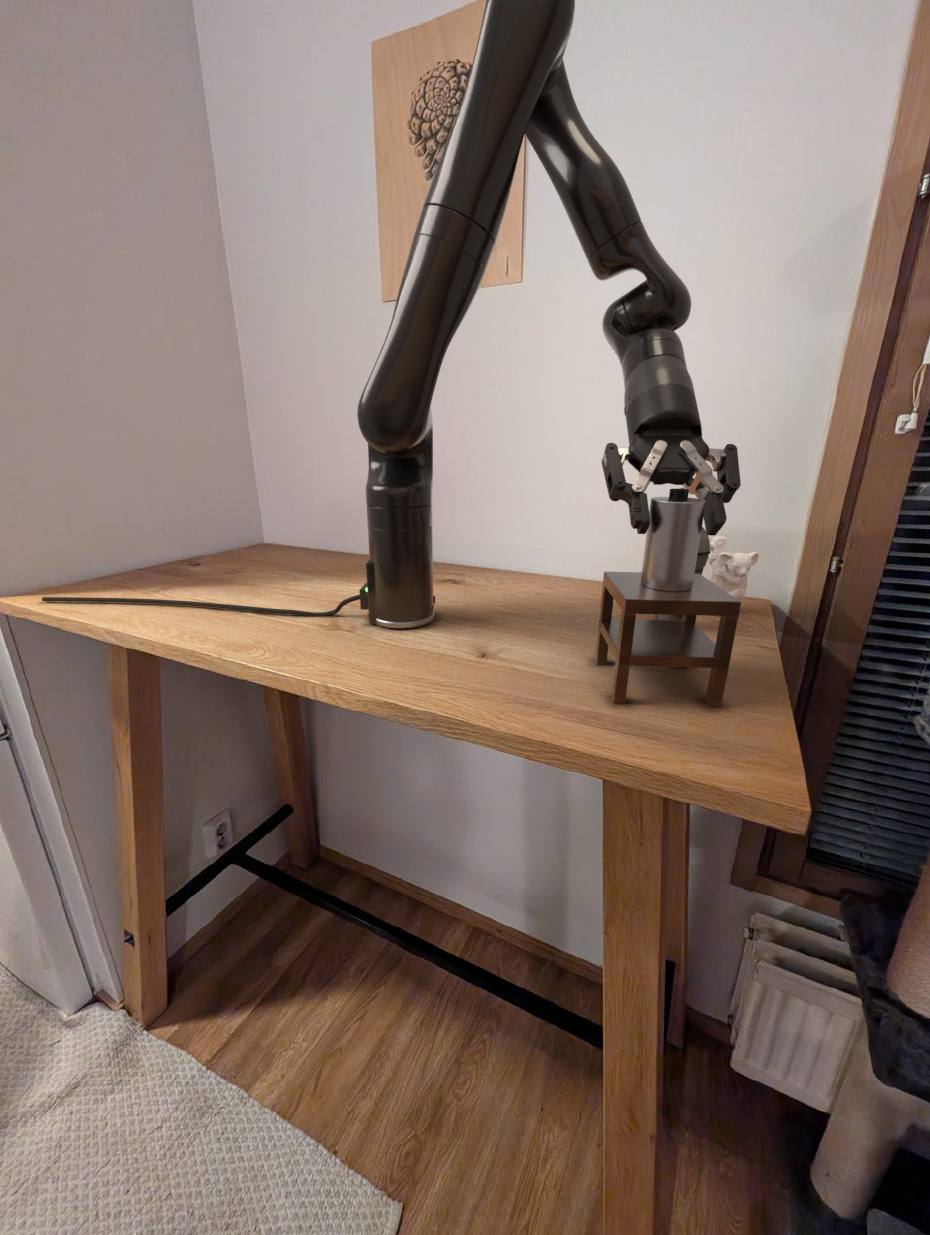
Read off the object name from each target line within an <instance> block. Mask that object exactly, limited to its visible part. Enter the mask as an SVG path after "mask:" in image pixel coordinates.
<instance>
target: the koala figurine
mask: <svg viewBox="0 0 930 1235" xmlns="http://www.w3.org/2000/svg"><path fill="white" fill-rule="evenodd" d="M727 541H728V538H727V537H726V536H723V535H721V534H720V535H719V534H718V535H714V536H713V537H712V540H711V541H710V554H709V556H708V563H709V565H710V567H711V571H710V572H711V573H710V578H709V581H711V582H712V583H714V584H715V585H717V586H718V587H720V588H721V589H723V590H724V591H726V592H727V593H729V594H730V595H731V596H733V597H734V598H736V599H737V600H739V601H741V600H742V599H743V598H744V597H745V595H746V592H747V588H748V579H749V578H748V573H749V571H750V570H751V567H752V566H754V565H756V564H757V563H758V560H759V557H760V554H759V552H758V551H752V552H749V553H745V552H735V553H733V552H732V553H731V552H728V551H727Z"/></svg>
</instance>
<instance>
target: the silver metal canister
mask: <svg viewBox="0 0 930 1235" xmlns="http://www.w3.org/2000/svg"><path fill="white" fill-rule="evenodd" d="M668 493H669V494H668V496H654V497H651V498H650V504H649V515H650V525H649V528H648V530H647V532H646V534H645V544H644V552H643V558H642V567H641V572H642V574H641V584H642V585H643V586H645V587H648V588H651V589H655V590H660V591H669V592H681V591H688V590H690V589H692V586H693V580H694V573H695V567H696V561H697V554H698V548H699V542H700V536H701V529H702V527H703V522H704V511H705V504H706V501H705V500H702V499H698V498H697V497H689V494H690V493H689V490H688V489H685V488H684V489H680V488H670V489H669V492H668Z"/></svg>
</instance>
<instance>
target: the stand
mask: <svg viewBox="0 0 930 1235" xmlns="http://www.w3.org/2000/svg"><path fill="white" fill-rule="evenodd" d="M641 574H642V571H603V576H602V577H603V578H602V586H601V587H602V588H601V598H600V599H601V600H600V608H599V618H598V628H597V629H598V630H597V639H596V650H595V659H594V660H595V663H596V665H598V666H600V665H601V666H607V665H608V655H609V650H610V653H611V654H612V656H613V658H614V659H615V665H614V673H613V682H612V683H613V684H612V692H611V700H612V702H613V704H621V705H625V704H626V700H627V694H628V693H627V691H628V685H629V675H630V669H631V668H630V667H631V666H633V667H660V668H661V667H662V668H663V667H666V668H667V667H668V668H699V669H710V672H709V679H708V683H707V690H706V694H705V700H704V701H705V703H706V704H707V706H708V707H709V708H721V707H722V704H723V698H724V695H725V694H724V693H725V688H726V683H727V677H728V672H729V668H730V662H731V656H732V653H733V647H734V642H735V637H736V632H737V627H738V621H739V615H740V611H741V606H742V601H741V600H737V599H736V598H734V597H733V596H731V595H730V594H729V593H727V592H726V591H724V590H723V589H721V588H720V587H718V586H717V585H715V584H714V583H712V582H711V581H710V579H708V578H707V577H705V576H703V574H702V575H701V574H696V573H694V580H693V586H692V589H690V590H688V591H681V592H669V591H660V590H655V589H651V588H648V587H645V586H643V585H642V584H641ZM614 601H615V603H616V604H617V606H618V607H619V608H620V609H621V613H620V618H618V619H617V618H616V619H615V618H613V609H614ZM655 614H665V615H683V616H682V621H661V620H655V619H653V620H652V619H637V615H655ZM697 616H708V617H709V616H710V617H711V616H712V617H720V618H719V623H718V629H717V635H716V639H715V642H714V641H713V640H712V639H711V638H710V637H709V636H708V635H707V634H706V633H705V632H704V631H703V630H701V629H700V628H699V627H698V626H697V625H696V622H697Z"/></svg>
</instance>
